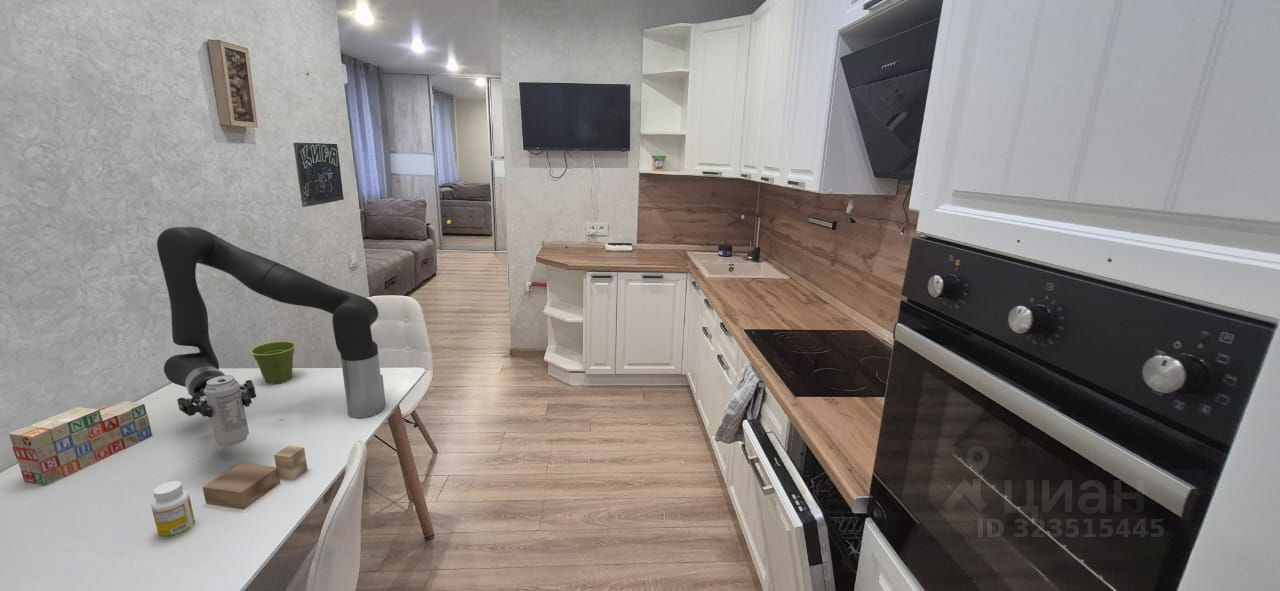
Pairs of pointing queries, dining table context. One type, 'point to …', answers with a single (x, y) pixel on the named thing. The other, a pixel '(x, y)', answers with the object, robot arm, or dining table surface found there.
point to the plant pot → (275, 360)
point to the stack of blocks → (77, 440)
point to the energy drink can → (226, 410)
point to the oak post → (291, 462)
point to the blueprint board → (249, 505)
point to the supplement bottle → (172, 510)
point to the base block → (241, 485)
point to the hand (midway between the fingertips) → (229, 407)
